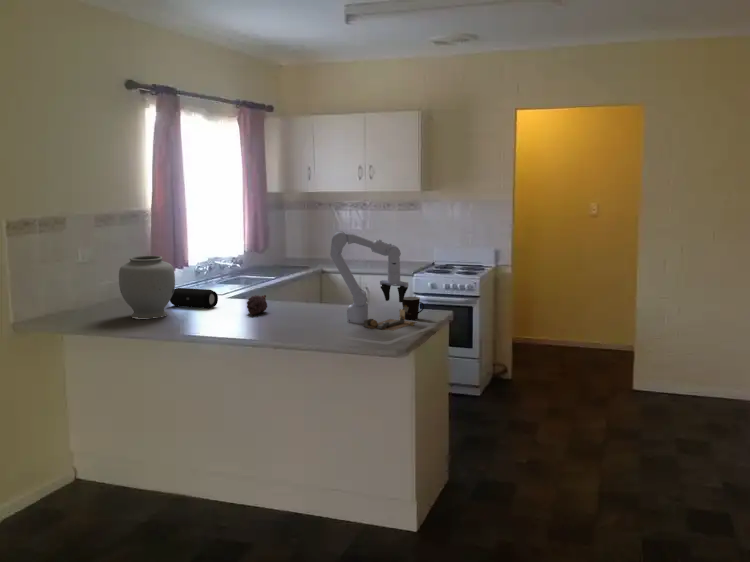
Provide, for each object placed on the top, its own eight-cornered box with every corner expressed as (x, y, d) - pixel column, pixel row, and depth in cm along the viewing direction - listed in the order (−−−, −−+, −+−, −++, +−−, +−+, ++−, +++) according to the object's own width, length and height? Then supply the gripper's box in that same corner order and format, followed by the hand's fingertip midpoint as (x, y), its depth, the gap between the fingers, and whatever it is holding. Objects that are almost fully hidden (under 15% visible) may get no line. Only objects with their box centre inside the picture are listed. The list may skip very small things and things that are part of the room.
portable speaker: (168, 307, 397) (167, 289, 395) (180, 304, 406) (179, 286, 404) (208, 310, 387) (207, 291, 385) (219, 306, 396) (218, 288, 394)
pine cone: (263, 316, 366) (251, 300, 363) (248, 325, 370) (236, 309, 367) (275, 301, 381) (263, 285, 379) (261, 309, 385) (249, 294, 383)
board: (364, 329, 332) (363, 320, 331) (390, 321, 348) (390, 312, 348) (396, 334, 322) (396, 324, 321) (421, 325, 338) (421, 316, 338)
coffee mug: (399, 318, 356) (398, 297, 354) (415, 316, 359) (415, 296, 357) (408, 322, 345) (408, 301, 343) (425, 320, 348) (425, 299, 346)
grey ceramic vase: (184, 311, 385) (181, 253, 380) (165, 321, 359) (161, 260, 354) (135, 311, 388) (130, 254, 383) (112, 321, 361) (107, 260, 357)
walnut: (368, 327, 331) (368, 320, 331) (373, 326, 334) (372, 319, 333) (374, 328, 329) (374, 321, 329) (378, 326, 332) (378, 319, 331)
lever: (376, 328, 328) (376, 315, 327) (401, 321, 341) (401, 308, 340) (382, 328, 326) (381, 316, 325) (406, 321, 339) (406, 309, 339)
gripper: (411, 272, 340) (412, 301, 342) (385, 270, 348) (386, 298, 350) (403, 274, 334) (403, 303, 336) (377, 271, 342) (377, 300, 344)
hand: (394, 301), depth 343 cm, fingers open, 7 cm apart
